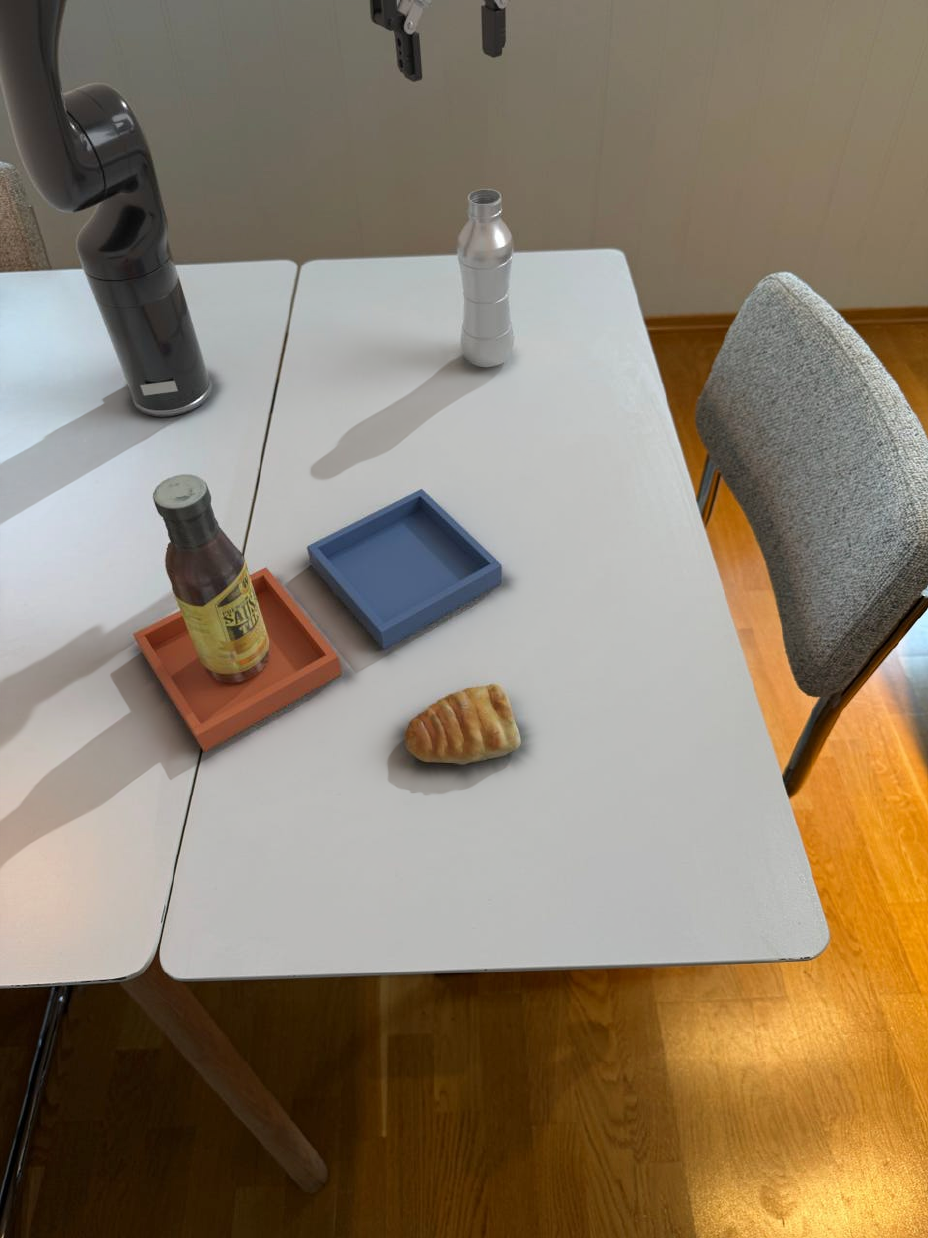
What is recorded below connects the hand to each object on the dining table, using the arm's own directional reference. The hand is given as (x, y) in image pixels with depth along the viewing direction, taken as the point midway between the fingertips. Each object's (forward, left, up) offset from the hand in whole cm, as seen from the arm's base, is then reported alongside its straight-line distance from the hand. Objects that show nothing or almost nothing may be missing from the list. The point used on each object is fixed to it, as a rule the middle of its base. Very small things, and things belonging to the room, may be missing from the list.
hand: (453, 66), depth 81 cm
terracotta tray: (+21, -40, -35) cm, 57 cm away
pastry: (+40, -28, -35) cm, 60 cm away
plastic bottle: (-3, +6, -35) cm, 35 cm away
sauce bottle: (+21, -40, -34) cm, 57 cm away
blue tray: (+21, -22, -35) cm, 46 cm away
